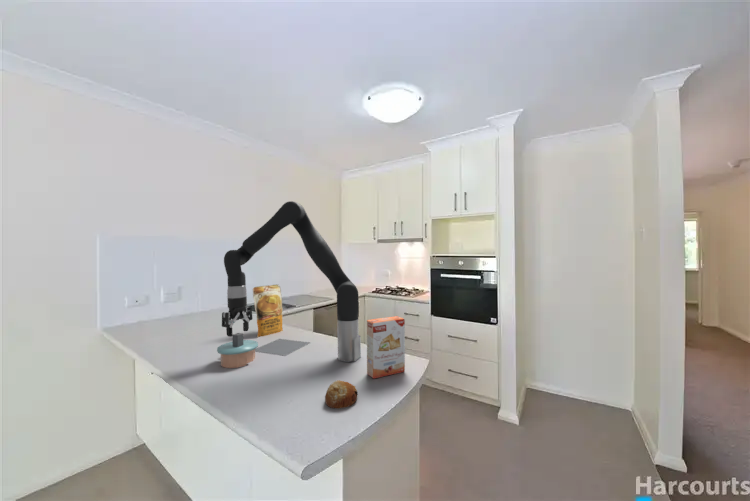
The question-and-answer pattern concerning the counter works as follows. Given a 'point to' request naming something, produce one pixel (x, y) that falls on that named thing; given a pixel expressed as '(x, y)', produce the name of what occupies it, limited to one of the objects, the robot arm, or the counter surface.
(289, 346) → the mat
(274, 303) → the pancake mix bag
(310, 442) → the counter surface
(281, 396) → the counter surface
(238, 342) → the lid
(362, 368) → the counter surface
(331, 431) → the counter surface
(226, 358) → the bowl
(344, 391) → the bread roll
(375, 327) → the cracker box
